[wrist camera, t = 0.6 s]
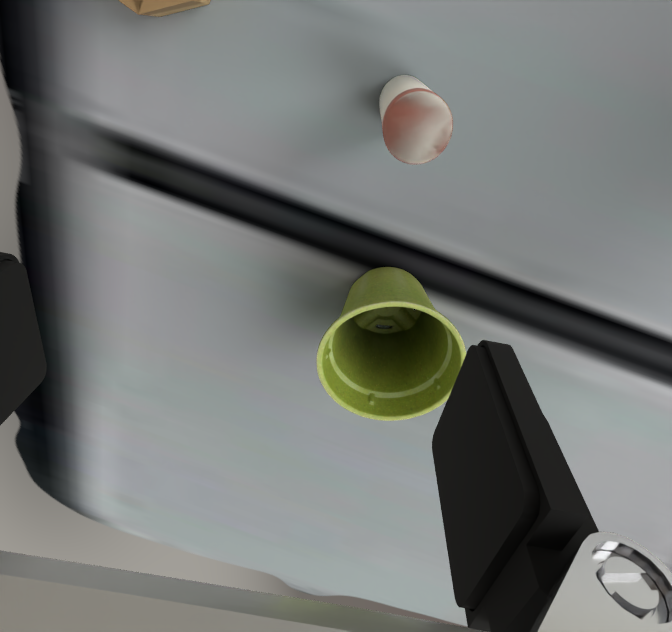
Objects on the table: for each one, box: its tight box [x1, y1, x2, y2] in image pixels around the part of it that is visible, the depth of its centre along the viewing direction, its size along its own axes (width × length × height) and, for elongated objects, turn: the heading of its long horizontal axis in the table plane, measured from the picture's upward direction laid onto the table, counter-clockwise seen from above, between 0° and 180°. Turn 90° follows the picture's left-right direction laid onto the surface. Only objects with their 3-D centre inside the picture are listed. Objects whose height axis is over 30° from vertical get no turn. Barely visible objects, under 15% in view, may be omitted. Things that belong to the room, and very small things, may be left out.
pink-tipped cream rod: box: [379, 75, 453, 164], centre depth 24 cm, size 3×3×10 cm
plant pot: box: [317, 267, 466, 421], centre depth 32 cm, size 9×9×9 cm
